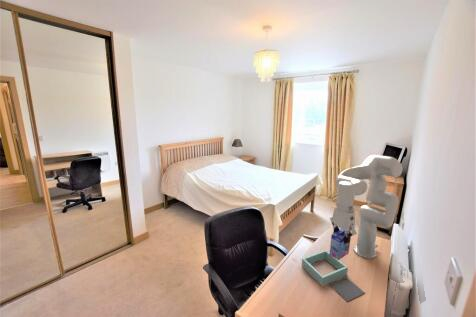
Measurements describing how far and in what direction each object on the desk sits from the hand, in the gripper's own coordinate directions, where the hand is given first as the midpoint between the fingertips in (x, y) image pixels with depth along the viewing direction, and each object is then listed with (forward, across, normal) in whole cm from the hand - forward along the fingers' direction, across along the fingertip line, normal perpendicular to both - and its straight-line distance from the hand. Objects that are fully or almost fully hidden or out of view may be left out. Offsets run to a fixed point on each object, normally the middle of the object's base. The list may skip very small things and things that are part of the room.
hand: (341, 238), depth 106 cm
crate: (+25, +9, +1) cm, 27 cm away
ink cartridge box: (+9, 0, 0) cm, 9 cm away
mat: (+25, -6, -1) cm, 26 cm away
